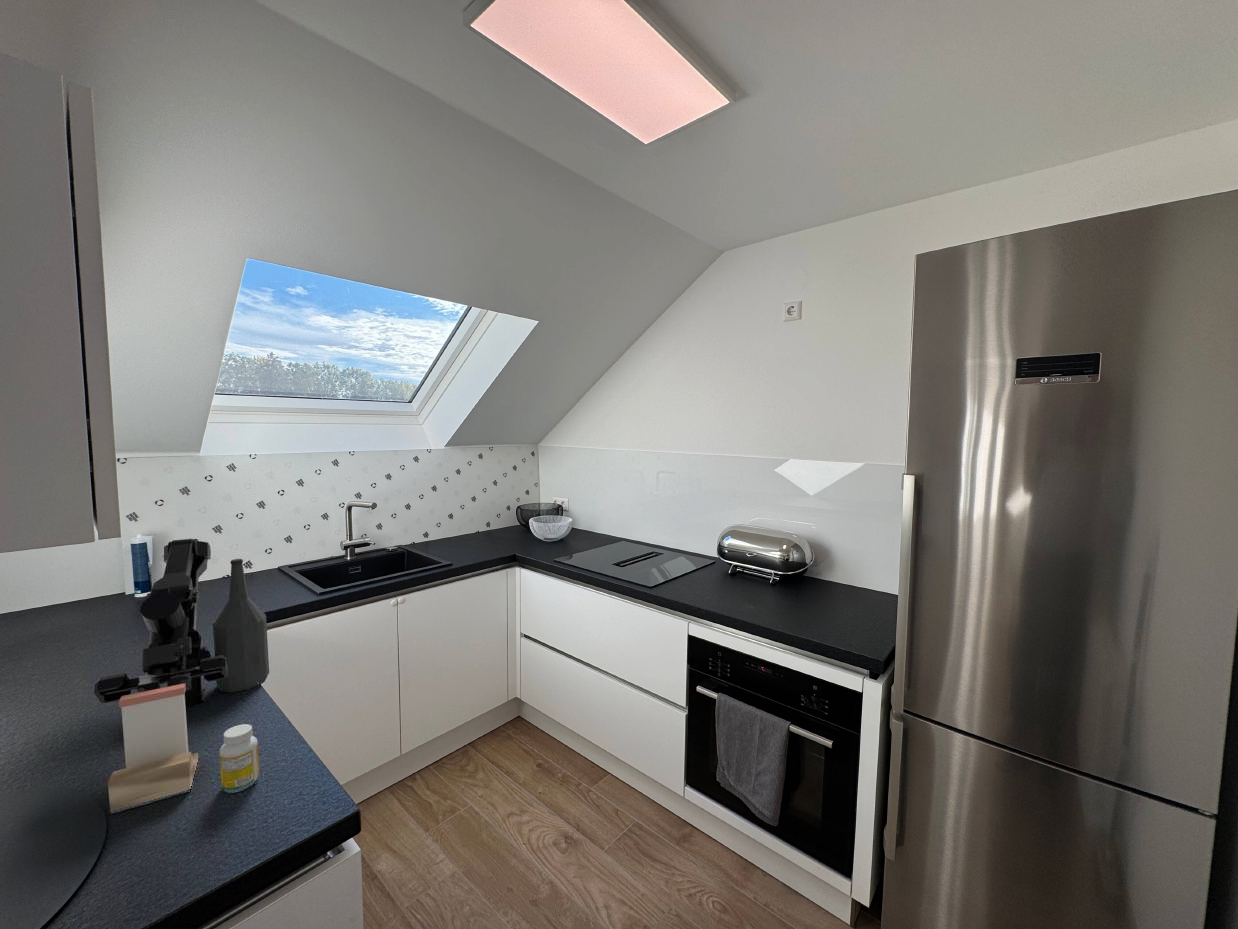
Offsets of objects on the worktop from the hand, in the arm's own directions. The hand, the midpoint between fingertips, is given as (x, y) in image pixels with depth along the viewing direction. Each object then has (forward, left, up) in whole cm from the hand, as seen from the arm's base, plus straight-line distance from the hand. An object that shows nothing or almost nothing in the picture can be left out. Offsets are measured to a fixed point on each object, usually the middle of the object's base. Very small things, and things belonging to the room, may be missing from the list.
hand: (162, 724), depth 96 cm
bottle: (-30, +10, -8) cm, 32 cm away
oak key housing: (+7, 0, -8) cm, 10 cm away
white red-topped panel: (+5, 0, -6) cm, 8 cm away
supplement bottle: (+14, +12, -8) cm, 20 cm away
